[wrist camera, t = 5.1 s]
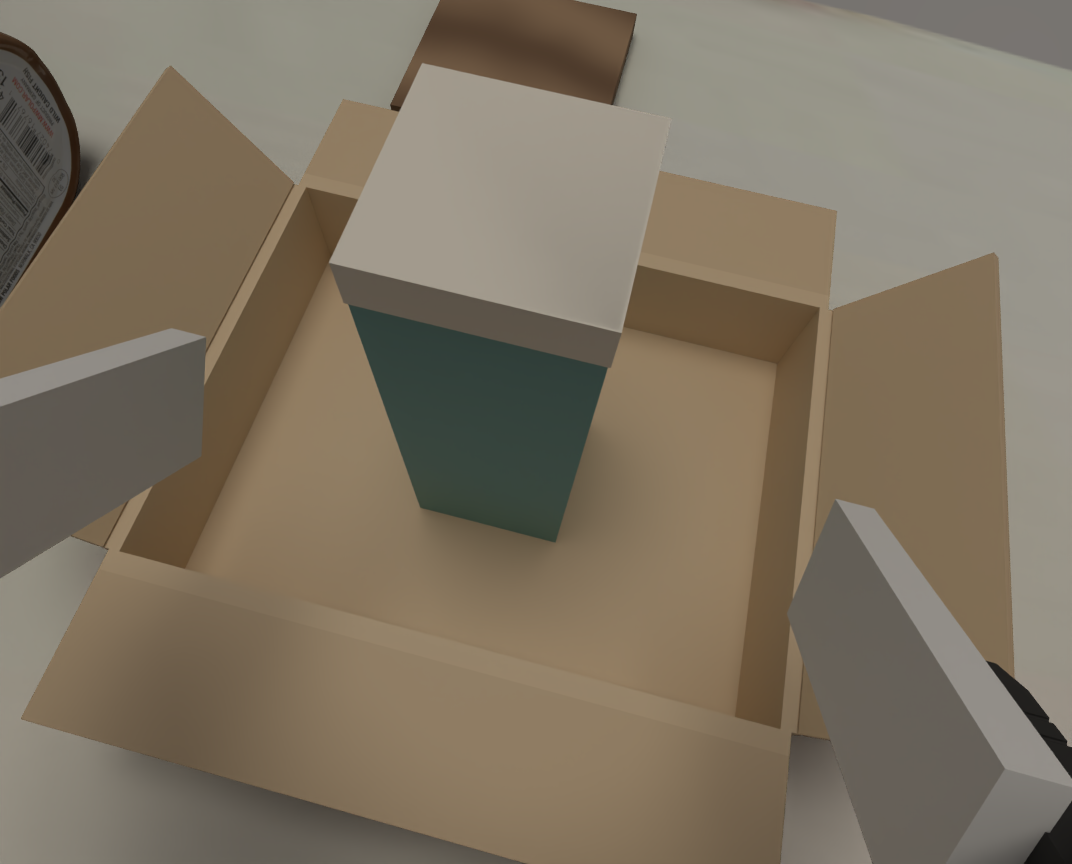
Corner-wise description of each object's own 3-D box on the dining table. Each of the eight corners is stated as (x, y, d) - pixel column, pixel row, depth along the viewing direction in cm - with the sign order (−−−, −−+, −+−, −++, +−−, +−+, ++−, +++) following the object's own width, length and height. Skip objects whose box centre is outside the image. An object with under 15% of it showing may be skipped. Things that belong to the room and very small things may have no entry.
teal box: (556, 544, 24) (621, 333, 11) (418, 508, 24) (329, 262, 12) (587, 418, 26) (671, 118, 13) (459, 386, 26) (422, 63, 14)
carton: (818, 919, 21) (1035, 1047, 12) (26, 694, 22) (-262, 673, 14) (858, 306, 30) (997, 142, 22) (298, 175, 31) (225, -27, 23)
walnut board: (593, 171, 32) (597, 151, 31) (393, 125, 33) (390, 104, 32) (632, 35, 37) (636, 13, 35) (453, -4, 37) (452, -26, 36)
